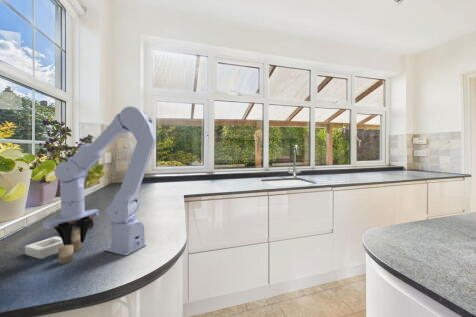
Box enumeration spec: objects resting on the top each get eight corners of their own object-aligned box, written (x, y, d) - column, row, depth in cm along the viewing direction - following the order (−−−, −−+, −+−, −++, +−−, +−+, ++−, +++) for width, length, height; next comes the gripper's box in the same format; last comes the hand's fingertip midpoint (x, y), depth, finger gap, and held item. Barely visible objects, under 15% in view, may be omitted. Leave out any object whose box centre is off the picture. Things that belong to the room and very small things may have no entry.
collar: (71, 247, 68) (70, 239, 68) (40, 259, 61) (39, 250, 61) (56, 243, 71) (56, 236, 71) (25, 254, 64) (24, 246, 64)
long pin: (83, 249, 67) (82, 227, 66) (72, 253, 64) (71, 230, 64) (76, 247, 68) (76, 225, 68) (65, 251, 65) (64, 229, 65)
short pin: (76, 259, 60) (75, 245, 60) (63, 265, 57) (62, 250, 57) (69, 257, 61) (68, 243, 61) (56, 262, 58) (55, 248, 58)
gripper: (88, 195, 74) (89, 234, 74) (36, 205, 60) (37, 252, 61) (102, 196, 71) (103, 236, 71) (50, 207, 57) (52, 256, 58)
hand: (74, 244), depth 66 cm, fingers closed on long pin, 3 cm apart
